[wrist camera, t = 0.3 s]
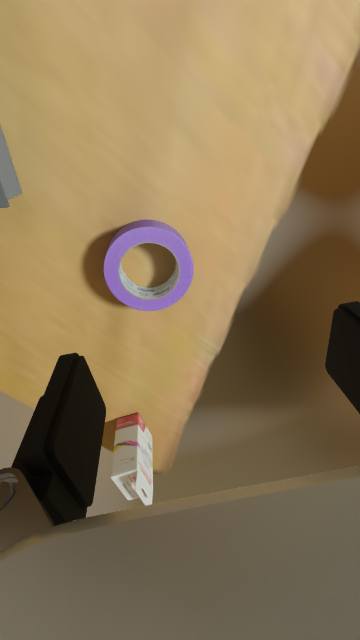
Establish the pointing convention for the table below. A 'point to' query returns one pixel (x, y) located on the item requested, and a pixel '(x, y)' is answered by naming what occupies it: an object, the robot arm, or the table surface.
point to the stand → (7, 175)
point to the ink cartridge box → (133, 459)
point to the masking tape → (148, 295)
